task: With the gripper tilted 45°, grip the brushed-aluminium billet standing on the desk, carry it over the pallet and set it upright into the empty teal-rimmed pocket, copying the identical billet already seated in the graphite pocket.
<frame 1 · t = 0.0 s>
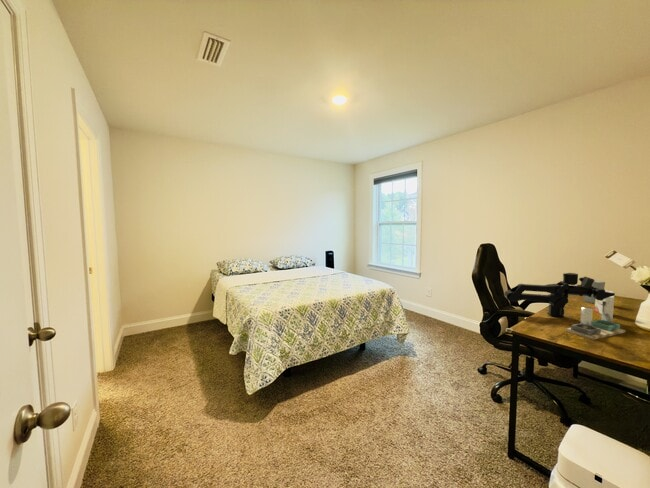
hand: (609, 292, 164), 17 cm above the table, tool horizontal, fingers open, 9 cm apart
billet: (606, 323, 160), on the table
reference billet: (585, 333, 146), resting on pallet
pallet: (595, 331, 149), on the table
skincare box: (593, 302, 200), on the table
ink cartridge box: (603, 313, 177), on the table
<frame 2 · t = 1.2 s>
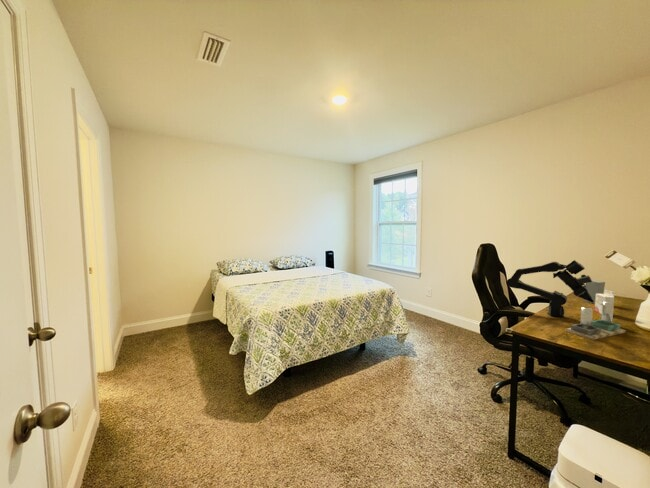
hand: (592, 300, 163), 13 cm above the table, tool tilted 45°, fingers open, 9 cm apart
nothing on the table moved.
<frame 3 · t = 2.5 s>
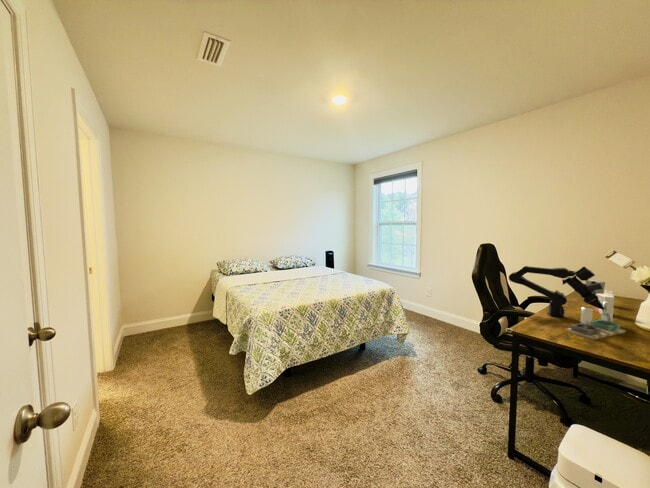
hand: (602, 307, 160), 9 cm above the table, tool tilted 45°, fingers open, 9 cm apart
nothing on the table moved.
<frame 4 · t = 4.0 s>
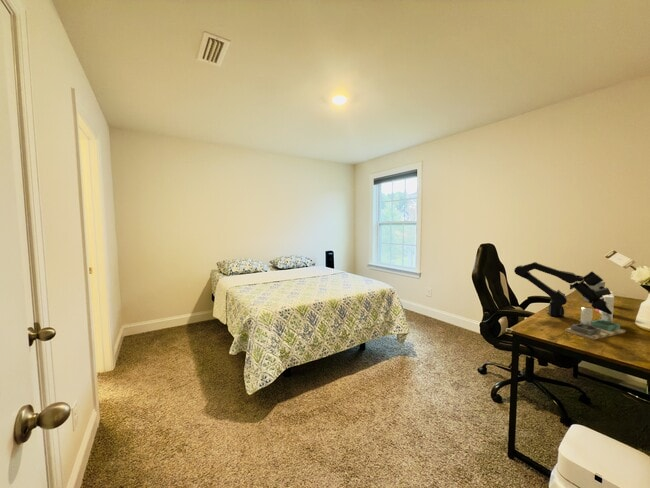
hand: (610, 312, 158), 7 cm above the table, tool tilted 45°, fingers closed on billet, 4 cm apart
billet: (606, 323, 160), on the table, touching gripper
everything else where it was.
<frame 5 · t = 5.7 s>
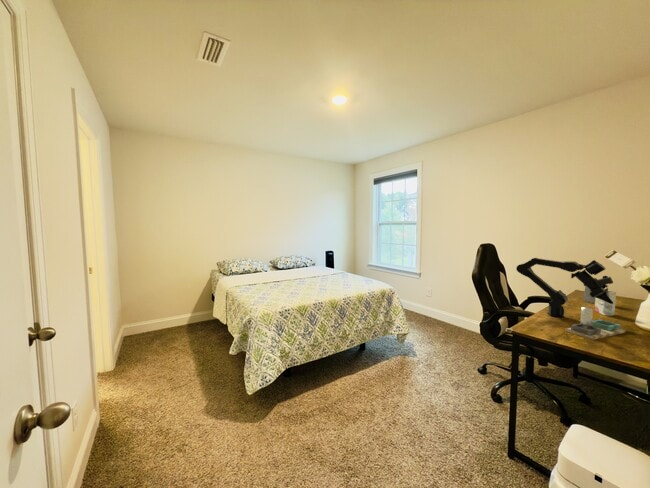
hand: (613, 302, 154), 14 cm above the table, tool tilted 45°, fingers closed on billet, 4 cm apart
billet: (608, 313, 156), point 7 cm above the table, touching gripper
everything else where it was.
when the fingers open (9 cm above the table, at t = 7.7 s): billet drops 1 cm, resting on pallet.
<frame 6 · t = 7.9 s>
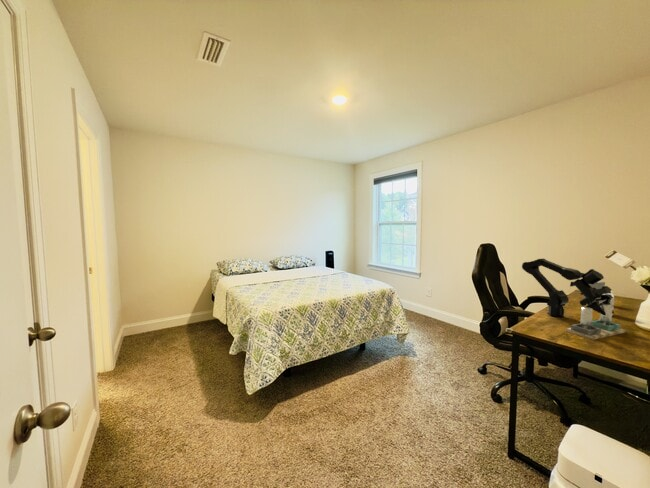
hand: (609, 314, 149), 9 cm above the table, tool tilted 45°, fingers open, 7 cm apart
billet: (604, 327, 151), point 1 cm above the table, touching pallet
everything else where it was.
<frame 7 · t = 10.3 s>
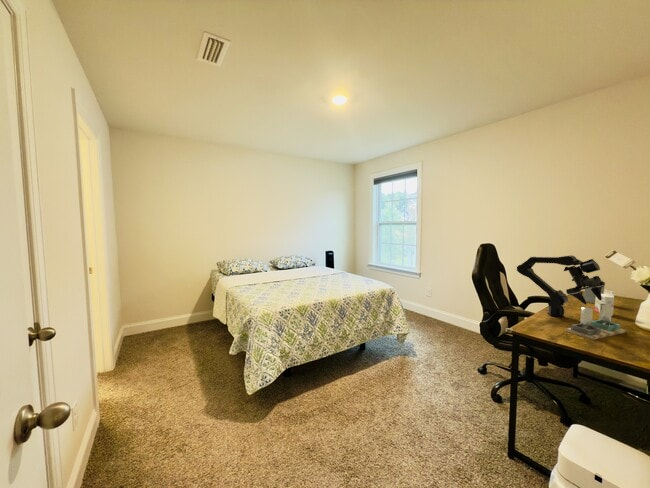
hand: (593, 302, 159), 13 cm above the table, tool tilted 30°, fingers open, 9 cm apart
nothing on the table moved.
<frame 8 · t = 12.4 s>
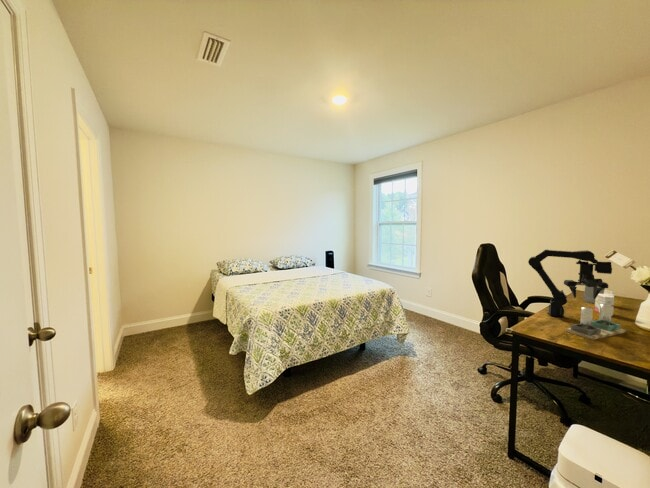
hand: (584, 298, 165), 13 cm above the table, tool pointing down, fingers open, 9 cm apart
nothing on the table moved.
at the end: billet 0.1 cm from the target spot, point 1.2 cm above the table; billet tilted 1°; the gripper is holding nothing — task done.
